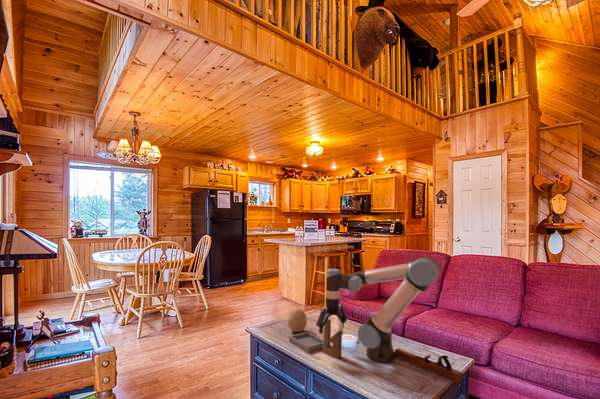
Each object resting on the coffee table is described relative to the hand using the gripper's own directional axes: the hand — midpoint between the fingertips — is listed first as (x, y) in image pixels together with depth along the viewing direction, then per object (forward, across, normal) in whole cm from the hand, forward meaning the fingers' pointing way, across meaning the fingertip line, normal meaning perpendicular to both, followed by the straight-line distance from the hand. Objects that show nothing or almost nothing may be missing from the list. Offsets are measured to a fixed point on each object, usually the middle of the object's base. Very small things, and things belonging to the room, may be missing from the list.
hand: (331, 336), depth 171 cm
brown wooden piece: (+10, 0, 0) cm, 10 cm away
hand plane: (+9, -31, +38) cm, 49 cm away
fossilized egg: (+10, -3, -38) cm, 39 cm away
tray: (+10, +3, -18) cm, 20 cm away
